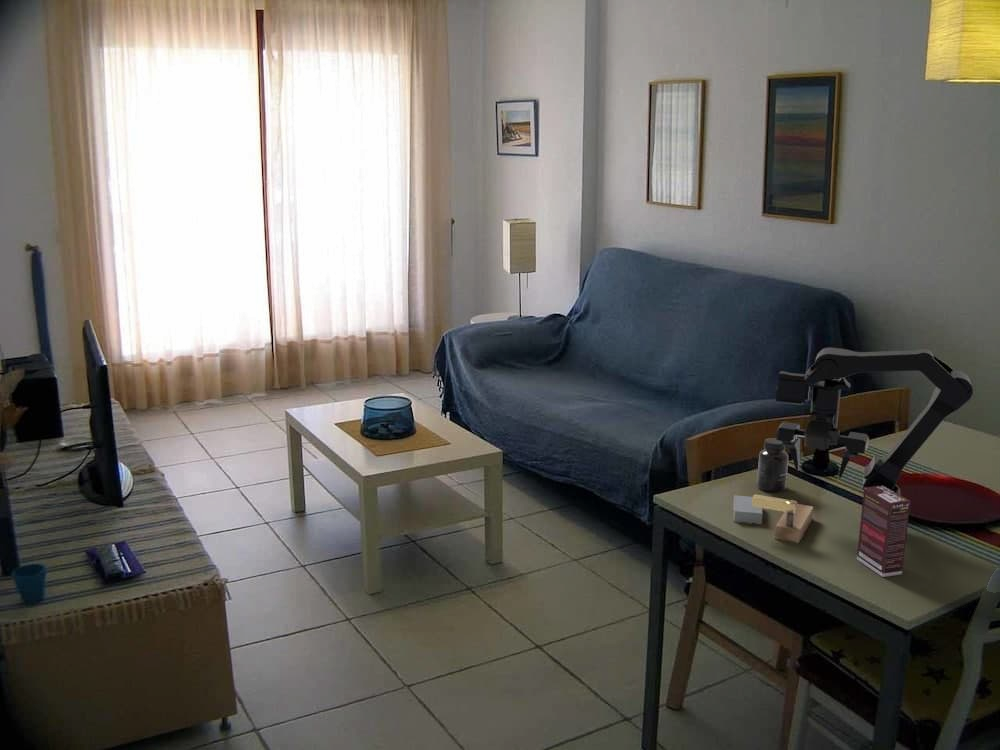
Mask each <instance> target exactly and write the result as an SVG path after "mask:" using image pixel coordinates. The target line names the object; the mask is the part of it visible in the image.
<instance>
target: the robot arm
mask: <svg viewBox="0 0 1000 750" xmlns="http://www.w3.org/2000/svg"><path fill="white" fill-rule="evenodd" d="M917 371H918V372H920V373H922V374H923V375H924V376H925V377H926V378H927V379H928V380H929V381H930V382H931V383H932V384H933V385H934V386H935V388H934V390H933V393H932V395H931V397H930V400H929V402H928V404H927V405H926V406H925V408H924V409H923V410H922V411H921V412H920V414H919V415H918V416H917V418H915V420H914V421H913V423H912V424H911V425H910V426H909V427H908V429H907V430H906V431H905V432H904V433H903V435H902V436H901V437H900V438H899V439H898V441H897V442H896V443H895V444H894V446H893V447H892V448H891V449H890V450H889V452H888V453H887V454H885V455H884V456H882V457H879V456H878V455H877V454H874V456H872V457H873V458H872V459H871V461H870V462H869V463H868V464H867V465H865V466H864V467H863V476H862V478H863V479H862V481H863V482H862V488H863V491H864V488H866V487H873V486H885V487H887V488H888V489H890V490H892V491H894V492H896V493H897V494H899V495H901V488H899V487H898V485H897V483H898V480H899V479H900V475H901V474H902V471H903V469H904V467H906V465H907V464H909V462H910V461H911V459H912V458H913V457H914V455H915V454H916V453H917V452H918V451H919V450H920V448H921V447H922V446H923V444H925V442H926V441H927V440H928V439H929V438H930V436H931V435H932V434H933V433H934V431H936V429H937V428H938V427H939V425H940V424H941V423H942V422H943V421H944V420H945V418H947V417H948V416H950V415H953V414H955V412H957V411H958V410H959V409H961V407H963V406H964V405H965V404H967V403H968V402H969V401H970V400H971V399H972V396H973V394H974V393H973V385H972V383H971V380H970V379H971V378H970V377H969V376H968V375H967V374H966V373H965V372H964V371H961V370H958V369H953V368H952V367H951V366H950V365H948V364H947V363H946V362H945V361H943V360H942V359H940V358H938V356H936V355H934V353H933V352H932V351H931V350H930V349H927V348H919V349H913V350H911V349H910V350H909V349H907V350H889V351H888V350H887V351H884V350H883V351H865V352H864V351H863V352H862V351H861V352H860V351H855V350H850V349H846V348H839V347H838V348H837V347H824V348H822V349H821V350H820V351H819V352H818V353H817V355H816V357H815V362H814V363H813V364H812V365H811V366H810V367H809V368H807V370H806V371H805V374H804V373H795V372H788V371H783V370H781V371H779V375H778V383H777V387H776V392H775V394H776V395H775V403H782V404H791V405H792V404H793V405H799V406H800V405H802V406H803V405H804V403H806V401H808V402H809V398H810V391H811V390H810V389H811V388H812V393H811V403H810V414H809V420H808V421H807V424H806V428H805V429H803V428H801V427H800V426H801V425H800V423H796V422H795V423H794V422H787V421H783V422H782V423H780V425H779V426H778V427H777V429H776V432H775V433H776V434H775V438H776V440H779V441H782V444H784V445H785V447H787V448H788V450H789V452H790V454H791V457H792V460H793V464H794V468H795V471H797V472H799V470H800V464H801V439H803V440H804V443H803V445H804V447H805V448H808V449H817V450H820V451H826V450H827V449H828V448H829V446H833V445H836V446H837V445H842V446H843V445H844V446H845V449H844V450H843V453H842V459H841V464H840V468H839V474H838V478H839V479H842V477H843V476H844V475H843V474H844V472H845V471H846V469H847V466H848V464H849V462H850V461H851V459H852V458H853V456H854V457H858V456H859V454H865V453H866V451H867V449H868V447H869V444H870V443H869V442H870V437H869V435H868V434H867V433H861V432H855V431H854V432H853V431H850V432H849V434H848V435H840V434H841V433H840V432H841V431H840V428H839V427H838V422H839V421H838V419H839V412H840V411H839V410H840V401H841V399H840V398H841V391H850V390H851V383H850V382H849V381H848V380H847V379H846V378H847V377H850V376H853V375H857V374H862V373H881V372H882V373H887V372H917ZM823 380H824V381H823Z"/></svg>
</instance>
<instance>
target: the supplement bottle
mask: <svg viewBox="0 0 1000 750" xmlns="http://www.w3.org/2000/svg"><path fill="white" fill-rule="evenodd" d="M763 443H764V444H763V448H764V449H762V450H760V452H759V455H758V466H757V477H756V486H757V488H758V489H760V490H761V491H764V492H766V493H781V492H783V491H785V490H786V485H787V479H788V478H787V477H788V468H789V467H788V465H789V454H788V453H787V452H786V451H785V450H786V445H784V444H782V441H779V440H776V437H771V438H770V437H769V438H765V440H764V442H763Z"/></svg>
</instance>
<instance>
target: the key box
mask: <svg viewBox="0 0 1000 750" xmlns="http://www.w3.org/2000/svg"><path fill="white" fill-rule="evenodd" d="M813 512H814V506H813V505H805V504H801V503H797V511H796V513H787V512H783V514H782V516H781V517H780V519H779V520H778V521H777V523H776V524H775V532H774V539H775V538H776V539H775V540H779V539H781V540H780V541H784V540H786V541H785V542H788V541H792V542H791V543H793V542H796V543H795V544H798V543H799V544H800V543H801V542H800V541H801V540H802V538H803V536H804V534H805V533H806V531H807V529H808V528H809V526H810V524H811V522H812V520H813V515H814V514H813Z"/></svg>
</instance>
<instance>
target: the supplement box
mask: <svg viewBox="0 0 1000 750" xmlns="http://www.w3.org/2000/svg"><path fill="white" fill-rule="evenodd" d="M861 506H862V507H861V513H860V515H861V516H860V523H859V524H860V525H859V533H858V534H859V535H858V543H857V544H858V545H857V553H856V560H857V561H859V562H860V563H862V564H863V565H865V566H866V567H868V568H869V569H870V570H872V571H873V572H875V573H877V574H878V575H879V577H880V576H881V577H882V578H887V577H888V578H889V577H893V576H900V575H902V574H903V567H904V558H905V549H906V544H907V543H906V542H907V535H908V527H909V525H908V524H909V517H910V509H911V500H910V499H908V498H906V497H905V496H903V495H901V494H900V495H899V494H897V493H896V492H894V491H892V490H890V489H888V488H887V487H885V486H873V487H866V488H864V490H863V498H862V505H861Z"/></svg>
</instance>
